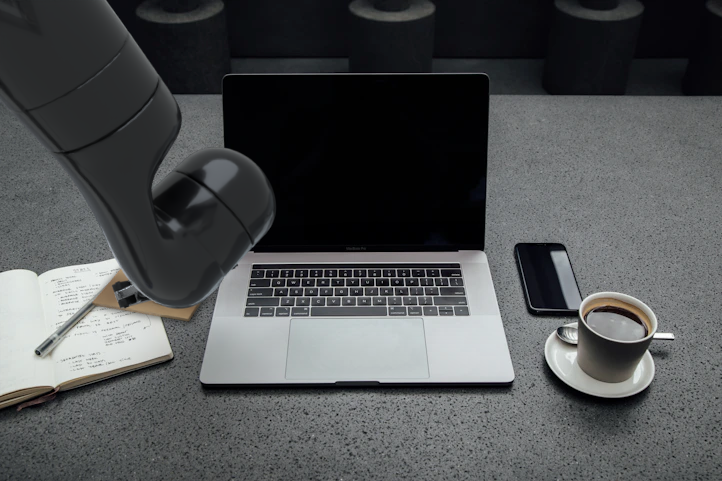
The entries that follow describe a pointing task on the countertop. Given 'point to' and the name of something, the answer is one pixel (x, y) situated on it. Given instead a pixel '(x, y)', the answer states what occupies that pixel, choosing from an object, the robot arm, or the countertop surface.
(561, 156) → the countertop surface
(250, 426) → the countertop surface
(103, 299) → the cork mat
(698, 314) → the countertop surface
